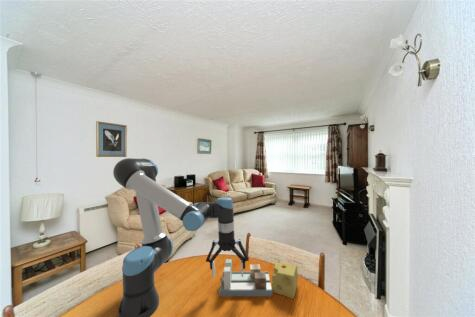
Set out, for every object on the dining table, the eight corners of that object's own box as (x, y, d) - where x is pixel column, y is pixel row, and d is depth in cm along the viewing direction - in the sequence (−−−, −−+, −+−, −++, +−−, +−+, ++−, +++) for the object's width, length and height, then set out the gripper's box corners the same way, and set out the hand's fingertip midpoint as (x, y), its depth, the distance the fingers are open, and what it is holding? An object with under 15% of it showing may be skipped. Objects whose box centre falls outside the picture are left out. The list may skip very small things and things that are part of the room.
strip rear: (225, 282, 89) (225, 263, 89) (226, 275, 94) (226, 258, 94) (269, 281, 88) (269, 263, 88) (268, 275, 93) (267, 258, 93)
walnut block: (255, 289, 82) (255, 278, 82) (254, 283, 86) (254, 272, 86) (266, 289, 82) (266, 278, 82) (265, 282, 86) (264, 272, 86)
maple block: (250, 279, 89) (250, 269, 89) (250, 274, 93) (249, 264, 93) (260, 279, 89) (260, 269, 89) (259, 273, 93) (259, 264, 93)
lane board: (219, 296, 81) (219, 290, 81) (223, 276, 95) (222, 271, 95) (272, 296, 80) (272, 290, 80) (268, 276, 94) (268, 271, 94)
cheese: (271, 292, 83) (270, 270, 83) (277, 278, 92) (277, 259, 92) (294, 300, 78) (294, 276, 78) (298, 284, 87) (298, 264, 88)
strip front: (224, 292, 82) (223, 272, 82) (225, 284, 87) (224, 266, 87) (272, 292, 81) (271, 272, 81) (270, 284, 86) (269, 265, 86)
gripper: (198, 234, 82) (200, 281, 81) (252, 232, 81) (254, 280, 80) (202, 228, 89) (203, 271, 89) (252, 226, 89) (254, 270, 88)
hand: (228, 275), depth 85 cm, fingers open, 13 cm apart
